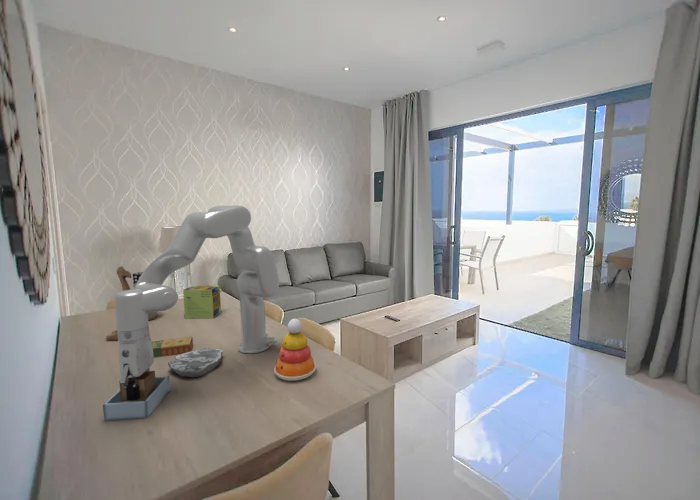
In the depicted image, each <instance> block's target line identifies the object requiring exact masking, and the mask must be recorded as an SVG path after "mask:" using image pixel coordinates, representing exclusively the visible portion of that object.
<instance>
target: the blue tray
mask: <svg viewBox="0 0 700 500" xmlns="http://www.w3.org/2000/svg"><path fill="white" fill-rule="evenodd" d="M155 378H156V389H155V390H154V392H153V393H152V394H151V395H150V396H149V397H148V398H147V399H146V400H138V401H122V402H121V393H120V389H118V390H117V391H116V392H115V393H114V394H113V395H112V396H111V397H109V399H107V401H105V402H104V403H103V404H102V411H103V418H104V419H103V421H119V420H134V419H147V418H149V417H150V415H151V414H152V413H153V412H154V410H155V409H156V408H157V406H159V404H160V403H161V402H162V401H163V399H164V398H165V397H166V396H167V395H168V394H169V392H170V390H171V384H170V376H169V375H167V376H155Z"/></svg>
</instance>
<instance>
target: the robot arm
mask: <svg viewBox="0 0 700 500" xmlns="http://www.w3.org/2000/svg"><path fill="white" fill-rule="evenodd" d="M251 221H252V215H251V212H250V210H249V209H248V208H247V207H245V206H244V205H216V206H215V205H214V206H211V207H210V208H209V209H208V211H196V212H191V213H189V214H188V215H186V217H185V218H184V219H183V221H182V223H181V225H180V226H179V228H178V230H177V231H176V234H175V235H174V237H173V238H172V240H171V242H170V244H169V245H168V247H167V248H166V250H165V251H163V252H162V253H161V254H160V255H159V256H158V257H156V258H155V259H154V260H153V261H151V263H150V264H149V265H148V266H147V267H145V269H144V270H143V271H142V272H143V273H142V275H141V276H140V278H139V280H138V281H137V283H136V285H135V287H134V286H133V289H131V290H125V291H123V290H122V291H119V292H117V293H116V294H115V295H114V299H113V300H114V308H115V309H114V310H115V318H116V319H115V320H116V328H117V332H118V343H119V346H118V348H119V349H118V364H119V374H120V380H119V381H120V383H121V384H123V385H124V386H125V388H126V394H127V400H138V399H139V398H140V393H139V385H137V380H138V377H139V376H141V375H142V374H143V373H144V372H145V371H151V370H150V367H151V366H152V365H154V363H155V357H154V355H153V348H152V342H153V341H152V339H151V336H150V327H149V326H150V325H149V320H148V313H151V312H157V313H160V312H164V311H165V312H166V311H168V310H170V309H172V308H173V307H174V306H175V305H176V304H177V303H178V299H179V294H178V291H176V289H174V288H173V287H172V286H169V285H165V284H164V282H165V281H166V280H167V278H168V277H169V276H170V275H172V274H173V273H175V271H177V270H180V269H182V268H184V267H187V266H188V265H190V264H192V263H193V262H194V261H195V259H196V257H197V256H198V254H199V252H200V251H201V248H202V246H203V245H204V242H205V241H206V239H219V238H223V237H227V238H228V241H229V244H230V248H231V251H232V256H233V259H234V263H235V266H236V267H237V268H238V269H240V270H244V271H243V272H241V273H240V274H239V275H238V277H237V278H236V289H237V293H238V298H239V307H240V326H241V327H240V329H241V343H239V344H238V347H237V348H238V351H239V352H241V353H244V354H257V353H261V352H264V351H265V352H266V350H268V349H270V348H271V344H277V343H278V338H277V337H275V336H271V337H270V336H268V333H267V330H266V327H267V326H266V324H267V323H266V305H265V301H264V298H272V297H274V296H276V295H277V294H278V291H279V289H280V279H279V274H278V269H277V264H276V259H275V256H274V254H273V251H272V250H271V249H270V248H269V247H266V246H260V245H259V246H258V245H256V244H255V242H254V238H253V235H252V231H251V229H250V228H249V226H250V224H251ZM129 373H131V374H132V375H129ZM129 378H134V379H133V381H131V380H129ZM120 383H119V384H120Z"/></svg>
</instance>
